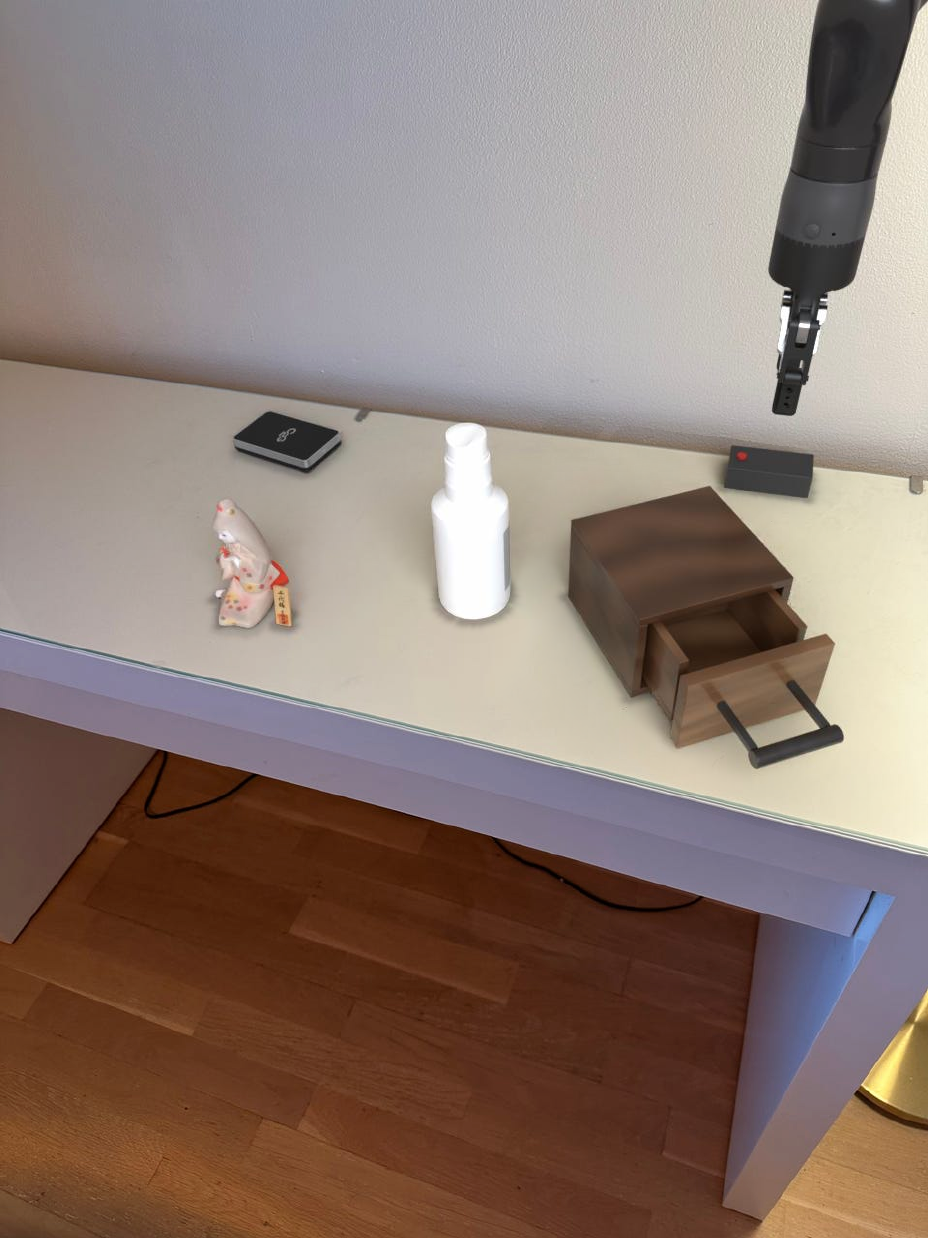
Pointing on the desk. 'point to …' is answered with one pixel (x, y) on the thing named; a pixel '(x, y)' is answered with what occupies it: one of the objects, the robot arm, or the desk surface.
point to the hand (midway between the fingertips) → (785, 390)
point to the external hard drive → (287, 441)
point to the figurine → (248, 571)
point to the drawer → (739, 674)
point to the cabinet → (662, 570)
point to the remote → (769, 471)
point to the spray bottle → (471, 529)
